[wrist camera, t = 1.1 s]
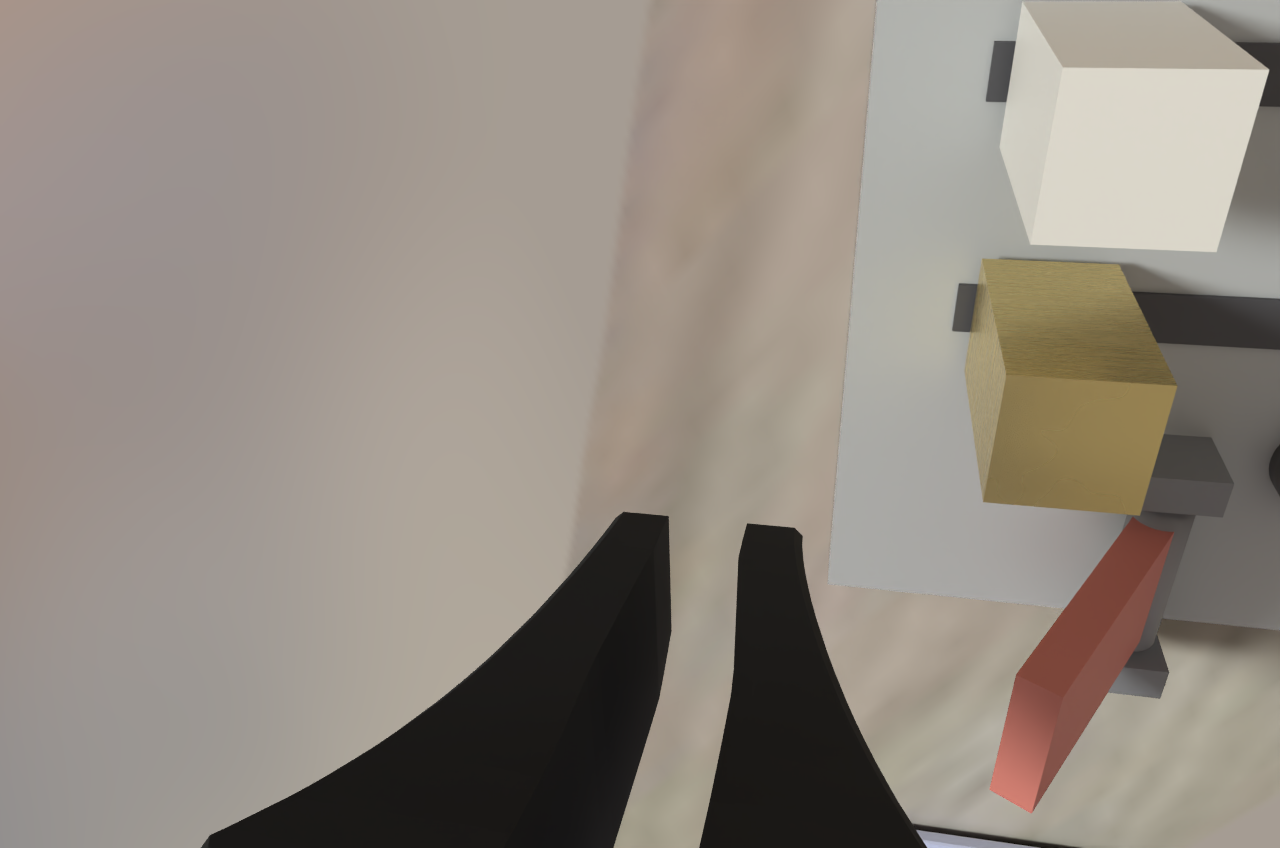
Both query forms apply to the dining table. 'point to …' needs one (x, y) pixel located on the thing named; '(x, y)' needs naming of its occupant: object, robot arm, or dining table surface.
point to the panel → (941, 323)
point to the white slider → (1126, 124)
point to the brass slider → (1064, 387)
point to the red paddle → (1087, 653)
